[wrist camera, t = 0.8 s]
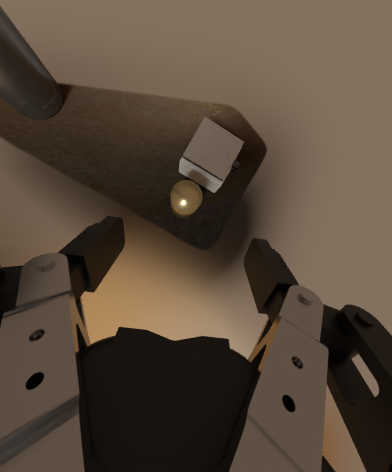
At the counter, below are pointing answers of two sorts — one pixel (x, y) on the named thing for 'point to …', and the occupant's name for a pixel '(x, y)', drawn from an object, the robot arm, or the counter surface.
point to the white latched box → (200, 175)
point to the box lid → (213, 149)
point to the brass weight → (185, 199)
